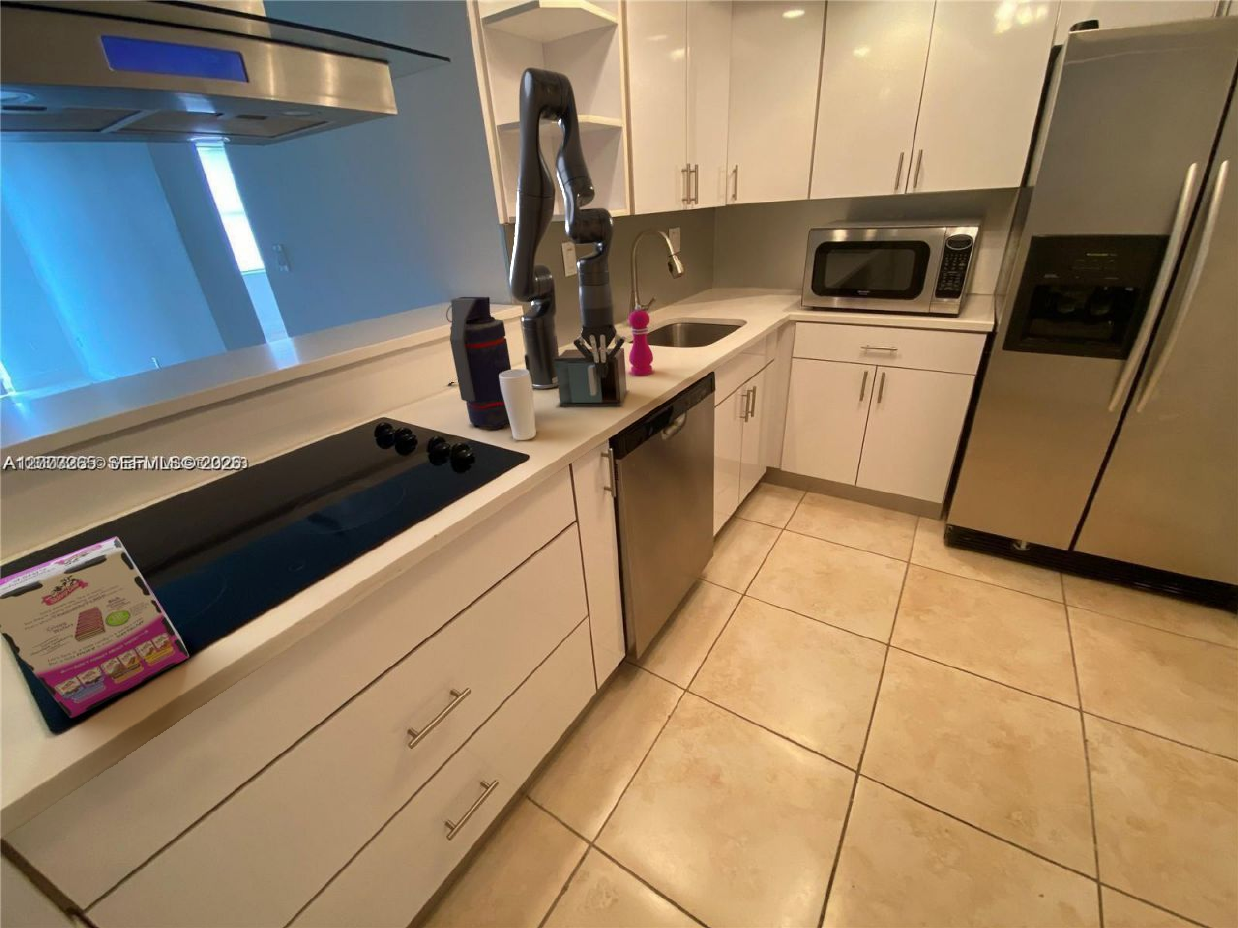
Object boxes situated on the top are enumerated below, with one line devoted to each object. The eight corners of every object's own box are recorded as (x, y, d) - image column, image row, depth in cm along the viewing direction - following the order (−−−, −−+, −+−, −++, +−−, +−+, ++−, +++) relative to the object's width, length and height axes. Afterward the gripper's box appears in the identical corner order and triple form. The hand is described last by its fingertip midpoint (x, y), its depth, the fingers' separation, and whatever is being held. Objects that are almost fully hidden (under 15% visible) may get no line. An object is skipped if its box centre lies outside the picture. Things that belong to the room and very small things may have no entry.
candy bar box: (182, 639, 67) (119, 533, 60) (191, 658, 64) (126, 548, 57) (65, 697, 60) (-24, 584, 53) (69, 721, 57) (-25, 605, 49)
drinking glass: (513, 431, 123) (502, 369, 116) (541, 429, 123) (532, 367, 116) (506, 443, 117) (495, 378, 110) (536, 441, 116) (526, 376, 110)
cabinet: (559, 406, 136) (553, 358, 130) (570, 391, 146) (565, 346, 141) (619, 406, 133) (616, 357, 128) (626, 391, 143) (623, 345, 138)
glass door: (569, 406, 132) (564, 367, 128) (572, 402, 136) (567, 362, 131) (599, 406, 131) (596, 366, 126) (602, 401, 134) (599, 362, 130)
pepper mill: (654, 368, 161) (651, 302, 152) (653, 375, 154) (650, 306, 145) (630, 369, 162) (626, 303, 153) (628, 376, 155) (624, 308, 146)
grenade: (491, 411, 137) (468, 292, 123) (528, 415, 132) (509, 292, 118) (455, 431, 126) (426, 303, 112) (494, 436, 121) (468, 303, 107)
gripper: (626, 300, 123) (631, 371, 131) (572, 302, 125) (580, 372, 133) (621, 306, 116) (626, 380, 124) (564, 308, 119) (572, 381, 126)
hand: (602, 376), depth 128 cm, fingers closed
